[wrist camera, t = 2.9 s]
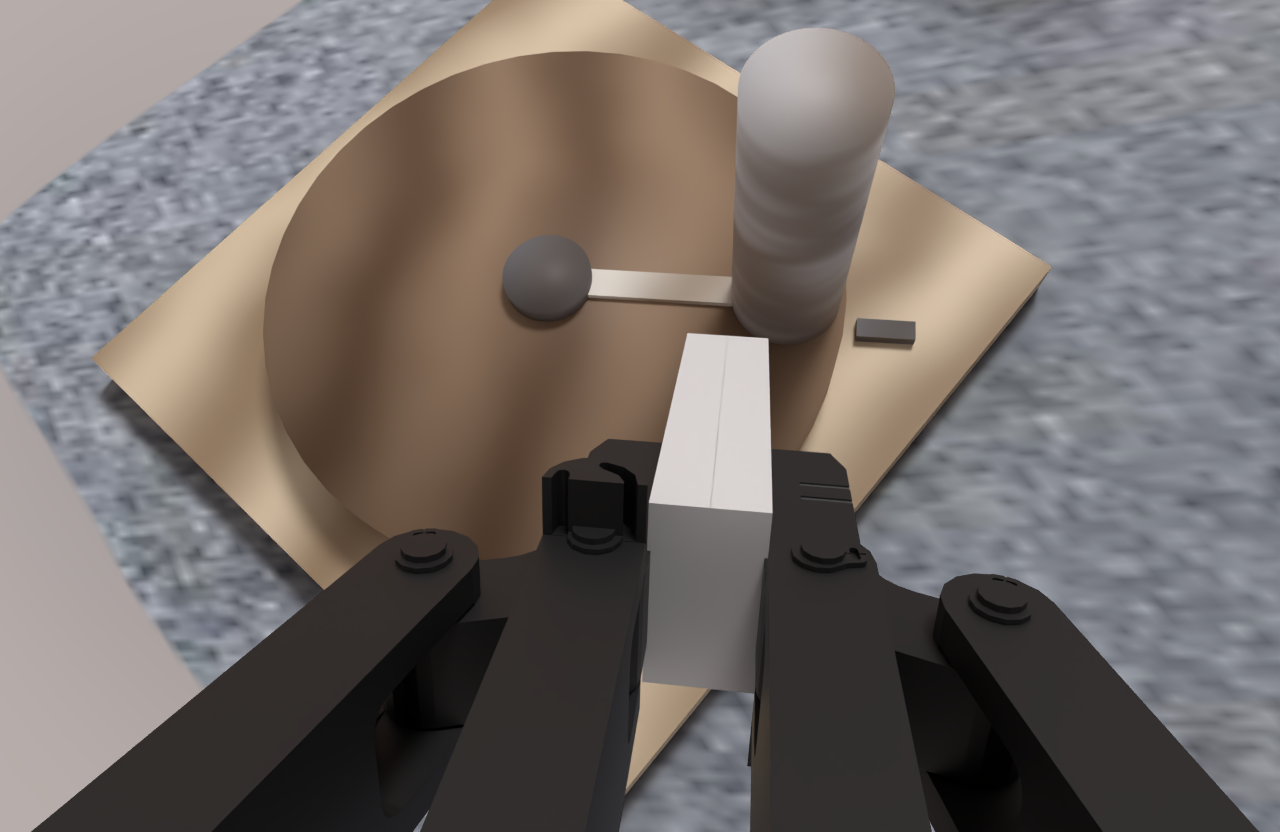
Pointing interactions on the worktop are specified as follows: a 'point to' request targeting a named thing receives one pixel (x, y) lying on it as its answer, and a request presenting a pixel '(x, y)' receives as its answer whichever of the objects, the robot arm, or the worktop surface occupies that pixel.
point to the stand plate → (845, 427)
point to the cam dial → (564, 269)
